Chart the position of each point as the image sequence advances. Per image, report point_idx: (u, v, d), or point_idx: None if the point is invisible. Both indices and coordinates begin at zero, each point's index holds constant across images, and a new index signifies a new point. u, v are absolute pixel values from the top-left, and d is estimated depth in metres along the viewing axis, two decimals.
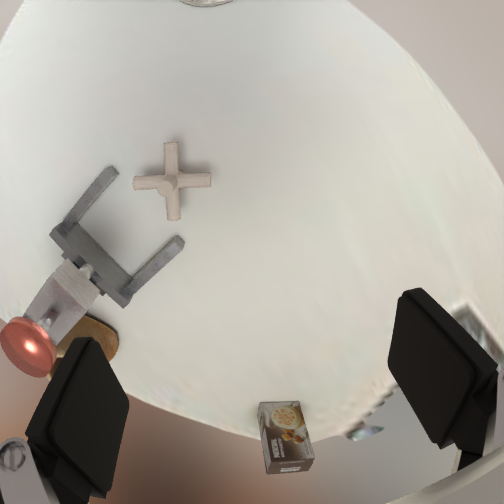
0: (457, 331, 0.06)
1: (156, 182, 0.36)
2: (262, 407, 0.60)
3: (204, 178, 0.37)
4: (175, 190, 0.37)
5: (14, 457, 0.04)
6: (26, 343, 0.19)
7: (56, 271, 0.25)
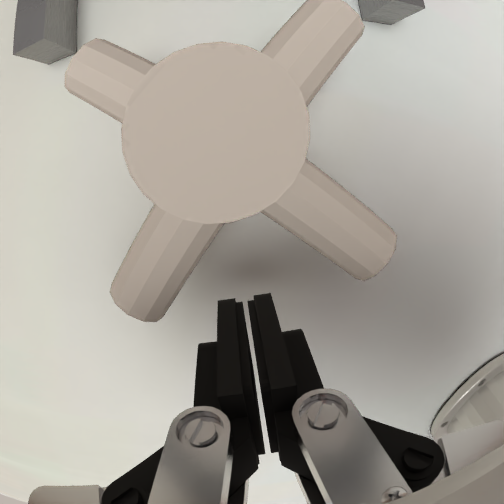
0: (273, 341, 0.07)
1: None
2: None
3: (149, 299, 0.08)
4: None
5: (200, 429, 0.05)
6: None
7: None
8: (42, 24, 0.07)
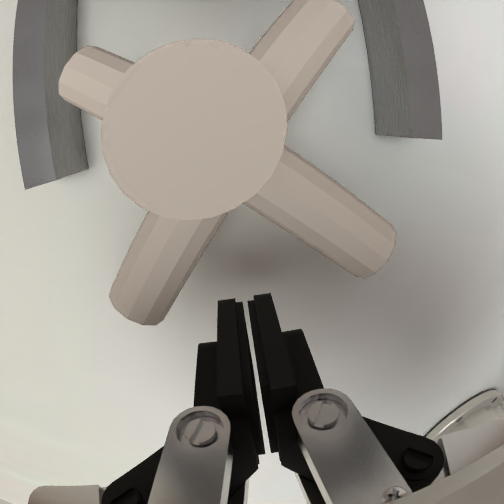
0: (273, 341, 0.07)
1: None
2: None
3: (148, 303, 0.08)
4: None
5: (200, 430, 0.05)
6: None
7: None
8: (50, 161, 0.09)
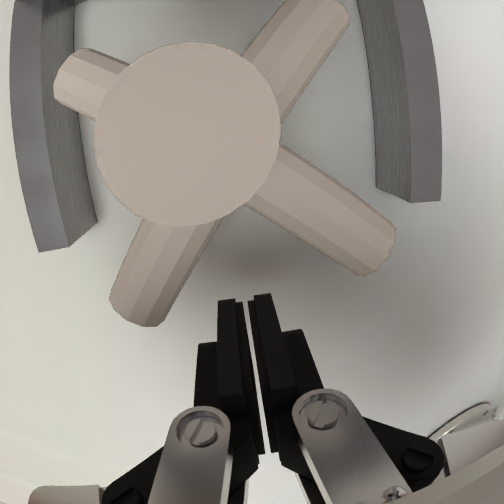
0: (273, 341, 0.07)
1: (268, 81, 0.06)
2: None
3: (148, 304, 0.08)
4: None
5: (200, 429, 0.05)
6: None
7: None
8: (62, 228, 0.10)
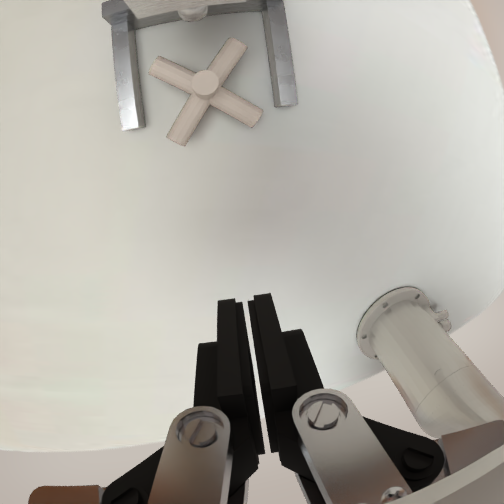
0: (273, 341, 0.07)
1: (219, 70, 0.21)
2: None
3: (182, 135, 0.23)
4: (190, 88, 0.21)
5: (200, 429, 0.05)
6: None
7: None
8: (136, 119, 0.24)
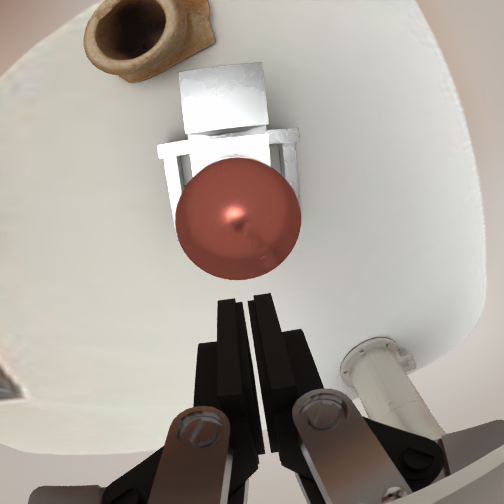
0: (273, 341, 0.07)
1: None
2: None
3: None
4: None
5: (200, 429, 0.05)
6: (249, 253, 0.14)
7: None
8: None
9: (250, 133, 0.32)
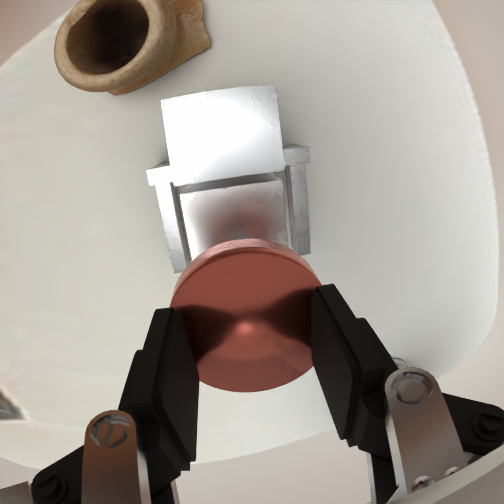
0: (352, 327, 0.07)
1: None
2: None
3: None
4: None
5: (112, 431, 0.05)
6: (265, 367, 0.10)
7: None
8: (185, 265, 0.35)
9: None
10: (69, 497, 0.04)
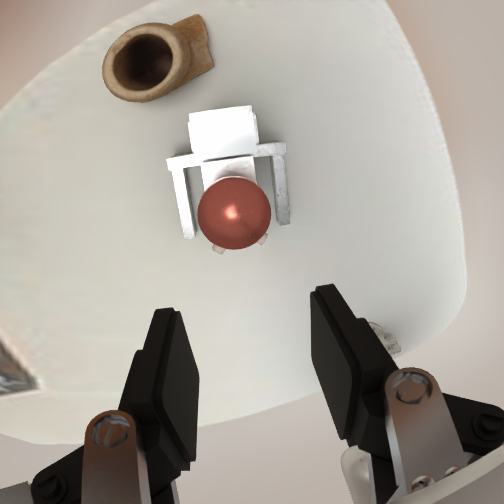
0: (352, 327, 0.07)
1: None
2: None
3: (221, 249, 0.44)
4: None
5: (112, 432, 0.05)
6: (241, 233, 0.24)
7: None
8: (193, 233, 0.46)
9: None
10: (69, 497, 0.04)
